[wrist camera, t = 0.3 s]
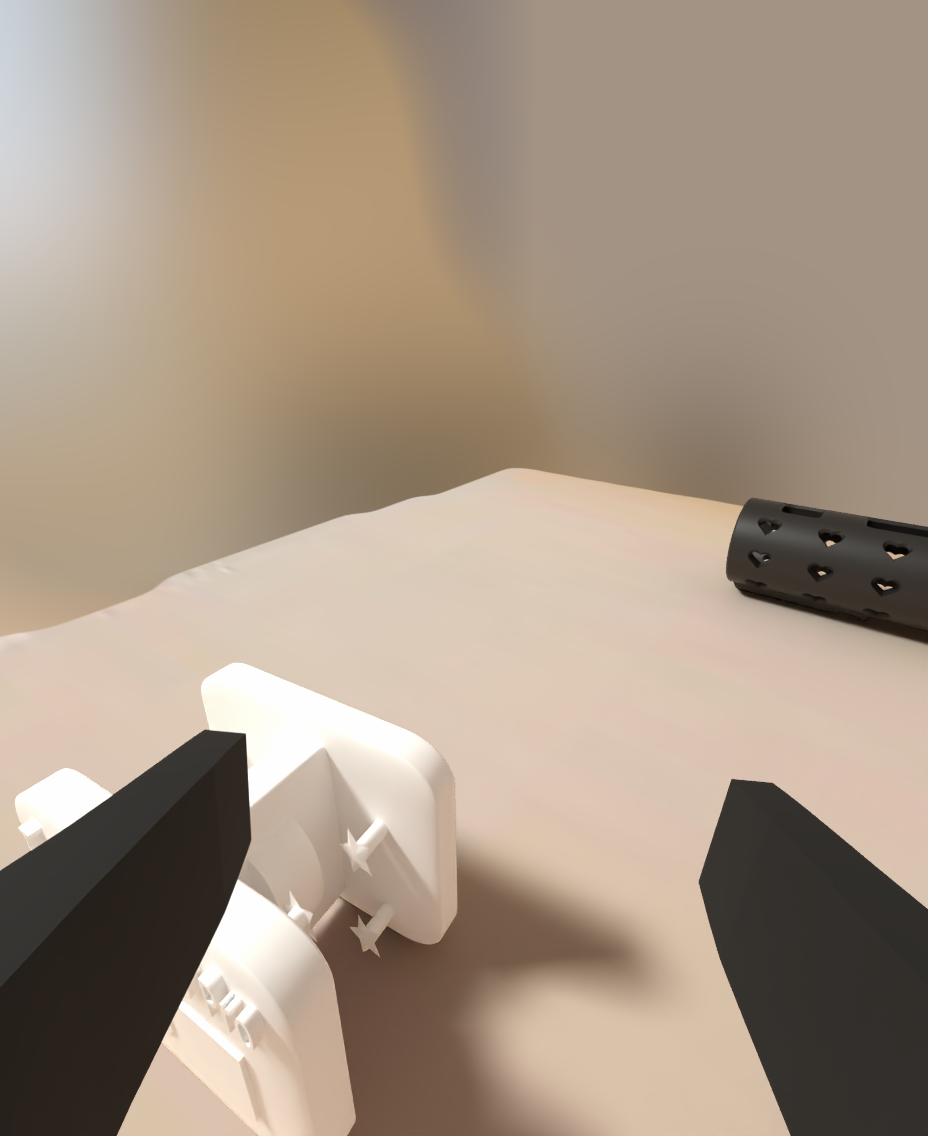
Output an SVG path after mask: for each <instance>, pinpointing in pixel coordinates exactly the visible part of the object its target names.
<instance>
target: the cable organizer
mask: <svg viewBox="0 0 928 1136" xmlns="http://www.w3.org/2000/svg"><path fill="white" fill-rule="evenodd" d="M201 692H202V698H203V702H204V707H205V711H206V715H207V719H208V724H209V728H210V730H214V731H224V732H235V733H246V745H247V764H248V783H249V802H250V821H251V843H250V846H249V849H248V852H247V854H246V857H245V860H244V863H243V866H242V869H241V871H240V874H239V877H238V880H237V882H236V885H235V888H234V890H233V893H232V896H231V898H230V901H229V904H228V906H227V909H226V912H225V914H224V916H223V918H222V920H221V922H220V924H219V926H218V928H217V931H216V933H215V935H214V937H213V939H212V941H211V943H210V945H209V947H208V949H207V951H206V953H205V955H204V957H203V959H202V961H201V963H200V965H199V967H198V969H197V972H196V974H195V976H194V978H193V980H192V982H191V984H190V986H189V988H188V990H187V992H186V994H185V996H184V998H183V1000H182V1002H181V1004H180V1006H179V1008H178V1010H177V1012H176V1014H175V1016H174V1018H173V1020H172V1022H171V1024H170V1026H169V1028H168V1030H167V1032H166V1034H165V1036H164V1038H163V1040H162V1043H163V1044H164V1045H165V1046H166V1047H167V1048H168V1049H169V1050H170V1051H171V1052H172V1053H173V1054H174V1055H175V1056H176V1057H177V1058H178V1059H179V1060H180V1061H181V1062H182V1063H183V1064H184V1065H185V1066H186V1067H188V1068H189V1069H190V1070H191V1071H192V1072H193V1073H194V1074H195V1075H196V1076H197V1077H198V1078H199V1079H200V1080H201V1081H202V1082H203V1083H204V1084H205V1085H206V1086H207V1087H208V1088H209V1089H210V1090H211V1091H212V1092H213V1093H214V1094H215V1095H216V1096H218V1097H219V1098H220V1099H221V1100H222V1101H223V1102H224V1103H225V1104H226V1105H227V1106H228V1107H229V1108H230V1109H231V1110H232V1111H233V1112H234V1113H235V1114H236V1115H237V1116H238V1117H239V1118H240V1119H241V1120H242V1121H243V1122H244V1123H245V1124H246V1125H247V1126H249V1127H250V1128H251V1129H252V1130H253V1131H254V1132H255V1133H256V1134H257V1135H258V1136H347V1135H348V1133H349V1132H350V1130H351V1128H352V1126H353V1125H354V1123H355V1120H356V1115H355V1109H354V1102H353V1096H352V1090H351V1084H350V1077H349V1071H348V1065H347V1059H346V1052H345V1046H344V1040H343V1034H342V1027H341V1021H340V1015H339V1009H338V1002H337V996H336V990H335V984H334V979H333V975H332V972H331V970H330V967H329V965H328V963H327V961H326V960H325V958H324V956H323V955H322V953H321V951H320V950H319V949H318V947H317V946H316V944H315V943H314V942H313V941H312V939H311V938H310V937H312V938H313V939H314V940H315V941H316V942H317V940H316V938H315V935H314V933H313V931H312V928H313V927H314V926H315V924H316V923H317V922H318V921H319V920H320V918H321V917H322V916H323V915H324V914H325V913H326V911H327V910H328V909H329V908H330V907H331V906H332V904H333V903H334V902H335V901H336V900H337V898H338V897H339V896H340V897H341V898H343V899H345V900H346V901H348V902H350V903H351V904H353V905H354V906H356V907H358V908H359V909H361V910H362V911H364V912H366V913H367V914H369V915H370V916H372V917H373V918H372V919H371V920H370V921H369V923H368V924H367V925H366V927H365V925H364V923H363V922H362V920H361V918H360V917H359V915H358V927H350V928H351V929H352V931H353V932H354V933H355V934H356V935H357V936H358V937H359V939H360V942H361V946H362V951H363V952H365V951H367V950H368V949H371V950H372V951H373V952H374V953H375V954H377V955H378V956H379V957H380V955H379V953H378V950H377V948H376V946H375V941H376V940H377V939H378V937H379V936H380V935H381V933H382V932H383V930H384V929H385V928H386V926H388V927H390V928H391V929H393V930H395V931H396V932H398V933H399V934H401V935H403V936H405V937H406V938H408V939H411V940H413V941H415V942H419V943H422V944H435V943H438V942H439V941H440V940H441V939H442V937H443V935H444V934H445V932H446V931H447V929H448V928H449V926H450V924H451V923H452V921H453V920H454V918H455V916H456V914H457V855H456V801H455V779H454V776H453V773H452V771H451V769H450V767H449V765H448V764H447V762H446V761H445V759H444V758H443V757H442V756H441V755H440V753H439V752H438V751H437V750H436V749H435V748H434V747H433V746H431V745H430V744H429V743H428V742H426V741H425V740H424V739H422V738H421V737H419V736H418V735H416V734H414V733H412V732H410V731H408V730H405V729H403V728H401V727H398V726H396V725H393V724H391V723H388V722H386V721H383V720H381V719H379V718H376V717H374V716H371V715H369V714H366V713H364V712H361V711H359V710H357V709H354V708H352V707H349V706H347V705H344V704H342V703H340V702H337V701H335V700H332V699H330V698H327V697H325V696H322V695H320V694H318V693H315V692H313V691H310V690H308V689H305V688H303V687H300V686H298V685H296V684H293V683H291V682H288V681H286V680H283V679H281V678H278V677H276V676H274V675H271V674H269V673H266V672H264V671H261V670H259V669H257V668H254V667H252V666H249V665H246V664H242V663H233V664H230V665H228V666H226V667H225V668H223V669H221V670H219V671H218V672H216V673H214V674H213V675H211V676H209V677H207V678H206V679H205V680H204V682H203V683H202V687H201ZM112 795H113V794H112V793H110V792H109V791H107V790H106V789H104V788H103V787H101V786H100V785H98V784H97V783H95V782H94V781H92V780H91V779H89V778H88V777H86V776H85V775H83V774H82V773H80V772H78V771H75V770H73V769H67V768H65V769H62V770H60V771H58V772H56V773H55V774H53V775H51V776H50V777H48V778H46V779H44V780H43V781H41V782H39V783H38V784H36V785H34V786H33V787H31V788H29V789H27V790H26V791H24V792H22V793H21V794H19V795H18V796H17V797H16V800H15V807H16V812H17V815H18V818H19V820H20V823H21V825H22V826H20V827H19V828H18V829H19V831H20V832H21V833H22V834H23V835H24V837H25V839H26V841H27V844H28V846H29V848H30V850H33V849H34V848H36V847H37V846H39V845H41V844H42V843H44V842H45V841H47V840H48V839H50V838H51V837H53V836H54V835H56V834H57V833H59V832H60V831H62V830H63V829H65V828H66V827H68V826H69V825H71V824H72V823H74V822H75V821H76V820H78V819H79V818H81V817H82V816H84V815H85V814H86V813H88V812H89V811H91V810H92V809H93V808H95V807H96V806H98V805H99V804H101V803H102V802H103V801H105V800H106V799H108V798H109V797H111V796H112ZM307 934H308V935H309V936H310V937H309V936H308V935H307ZM317 943H318V942H317ZM380 958H381V957H380Z"/></svg>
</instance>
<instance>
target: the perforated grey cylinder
mask: <svg viewBox="0 0 928 1136" xmlns="http://www.w3.org/2000/svg"><path fill="white" fill-rule="evenodd" d="M773 530H776V531H774V532H772V531H773ZM829 540H830V541H833V542H834V543H836V544H834V545H831V546H829V547H828V546H827V545H826V542H827V541H829ZM887 552H891V553H893V554H894V555H897V554H903V555H905V556H903V557H900V558H897V559H895V560H893V559H892V558H891V557H890V555H889V554H888V553H887ZM766 559H769V560H767V561H764V560H766ZM819 571H823V572H825V573H826V574H825V575H822V576H820V575H819V574H818V573H817V572H819ZM726 575H727V578H728V580H730V581H733V582H734V584H735V587H736V588H738V589H741V590H745V591H749V592H753V593H757V594H761V595H765V596H769V597H773V598H777V599H781V600H784V601H788V602H792V603H796V604H800V605H804V606H808V607H812V608H816V609H820V610H824V611H827V612H831V613H833V612H834V611H837V612H841V613H845V614H849V615H853V616H857V617H858V619H859V620H863V621H865V620H867V619H868V618H870V617H873V618H877V619H880V620H884V621H888V622H892V623H896V624H900V625H904V626H908V627H912V628H916V629H920V630H924V631H928V527H925V526H919V525H912V524H907V523H901V522H895V521H888V520H883V519H877V518H871V517H866V516H860V515H853V514H848V513H842V512H836V511H830V510H822V509H816V508H810V507H804V506H797V505H792V504H787V503H782V502H775V501H770V500H764V499H758V498H751V499H749V500H748V501H747V502H746V504H745V505H744V507H743V509H742V511H741V512H740V515H739V517H738V519H737V522H736V525H735V528H734V531H733V534H732V538H731V542H730V546H729V550H728V556H727V563H726ZM877 584H881V585H883V586H884V587H887V586H890V587H893V588H891V589H887V590H882V589H881V588H880V587H879V586H878V585H877Z"/></svg>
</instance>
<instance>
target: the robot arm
mask: <svg viewBox="0 0 928 1136" xmlns="http://www.w3.org/2000/svg"><path fill="white" fill-rule="evenodd" d="M250 843H251V821H250V802H249V783H248V764H247V745H246V733H235V732H224V731H214V730H204V731H202V732H201V733H199V734H198V735H196V736H195V737H193V738H192V739H190V740H189V741H188V742H186V743H185V744H183V745H182V746H180V747H179V748H178V749H176V750H175V751H173V752H172V753H171V754H169V755H168V756H167V757H165V758H164V759H162V760H161V761H160V762H158V763H157V764H155V765H154V766H153V767H151V768H150V769H149V770H147V771H146V772H144V773H143V774H142V775H140V776H139V777H137V778H136V779H135V780H133V781H132V782H130V783H129V784H128V785H126V786H125V787H123V788H122V789H121V790H119V791H118V792H116V793H115V794H113V795H112V796H111V797H109V798H108V799H106V800H105V801H103V802H102V803H101V804H99V805H98V806H96V807H95V808H93V809H92V810H91V811H89V812H88V813H86V814H85V815H84V816H82V817H81V818H79V819H78V820H76V821H75V822H74V823H72V824H71V825H69V826H68V827H66V828H65V829H63V830H62V831H60V832H59V833H57V834H56V835H54V836H53V837H51V838H50V839H48V840H47V841H45V842H44V843H42V844H41V845H39V846H37V847H36V848H34V849H33V850H31V851H30V852H28V853H27V854H25V855H24V856H22V857H21V858H19V859H17V860H16V861H14V862H13V863H11V864H10V865H8V866H7V867H5V868H4V869H2V870H1V871H0V1136H117V1134H118V1132H119V1129H120V1127H121V1125H122V1123H123V1121H124V1118H125V1116H126V1114H127V1112H128V1110H129V1108H130V1105H131V1103H132V1101H133V1099H134V1097H135V1095H136V1093H137V1091H138V1089H139V1087H140V1085H141V1083H142V1081H143V1079H144V1077H145V1075H146V1073H147V1071H148V1069H149V1067H150V1065H151V1063H152V1061H153V1059H154V1056H155V1054H156V1052H157V1050H158V1048H159V1046H160V1044H161V1042H162V1040H163V1038H164V1036H165V1034H166V1032H167V1030H168V1028H169V1026H170V1024H171V1022H172V1020H173V1018H174V1016H175V1014H176V1012H177V1010H178V1008H179V1006H180V1004H181V1002H182V1000H183V998H184V996H185V994H186V992H187V990H188V988H189V986H190V984H191V982H192V980H193V978H194V976H195V974H196V972H197V969H198V967H199V965H200V963H201V961H202V959H203V957H204V955H205V953H206V951H207V949H208V947H209V945H210V943H211V941H212V939H213V937H214V935H215V933H216V931H217V928H218V926H219V924H220V922H221V920H222V918H223V916H224V914H225V912H226V909H227V906H228V904H229V901H230V898H231V896H232V893H233V890H234V888H235V885H236V882H237V880H238V877H239V874H240V871H241V869H242V866H243V863H244V860H245V857H246V854H247V852H248V849H249V846H250ZM699 885H700V889H701V893H702V896H703V900H704V904H705V908H706V912H707V916H708V919H709V923H710V927H711V930H712V933H713V937H714V940H715V944H716V947H717V951H718V954H719V957H720V960H721V963H722V965H723V968H724V970H725V973H726V976H727V978H728V981H729V983H730V986H731V988H732V991H733V993H734V996H735V998H736V1001H737V1004H738V1006H739V1009H740V1011H741V1014H742V1016H743V1019H744V1021H745V1024H746V1026H747V1029H748V1031H749V1034H750V1036H751V1039H752V1041H753V1044H754V1046H755V1048H756V1051H757V1053H758V1056H759V1058H760V1061H761V1063H762V1066H763V1068H764V1071H765V1073H766V1076H767V1078H768V1081H769V1083H770V1086H771V1088H772V1091H773V1093H774V1095H775V1098H776V1100H777V1103H778V1105H779V1108H780V1110H781V1113H782V1115H783V1118H784V1120H785V1123H786V1125H787V1128H788V1130H789V1133H790V1135H791V1136H928V909H927V908H926V907H925V906H923V905H922V904H921V903H920V902H918V901H917V900H916V899H915V898H913V897H912V896H911V895H910V894H909V893H907V892H906V891H905V890H904V889H902V888H901V887H900V886H899V885H898V884H896V883H895V882H894V881H893V880H892V879H890V878H889V877H888V876H887V875H885V874H884V873H883V872H882V871H881V870H879V869H878V868H877V867H876V866H875V865H873V864H872V863H871V862H870V861H869V860H867V859H866V858H865V857H864V856H863V855H861V854H860V853H859V852H858V851H857V850H855V849H854V848H853V847H852V846H851V845H849V844H848V843H847V842H846V841H845V840H843V839H842V838H841V837H840V836H839V835H837V834H836V833H835V832H834V831H833V830H831V829H830V828H829V827H828V826H826V825H825V824H824V823H823V822H822V821H820V820H819V819H818V818H817V817H816V816H814V815H813V814H812V813H811V812H809V811H808V810H807V809H806V808H804V807H803V806H802V805H801V804H800V803H798V802H797V801H796V800H794V799H793V798H792V797H791V796H789V795H788V794H787V793H785V792H784V791H783V790H781V789H780V788H779V787H777V786H776V785H775V784H773V783H767V782H757V781H746V780H735V779H731V783H730V786H729V789H728V792H727V795H726V798H725V801H724V804H723V807H722V811H721V814H720V817H719V820H718V823H717V826H716V829H715V832H714V835H713V839H712V842H711V845H710V848H709V851H708V854H707V857H706V860H705V863H704V867H703V870H702V873H701V876H700V879H699Z"/></svg>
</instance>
